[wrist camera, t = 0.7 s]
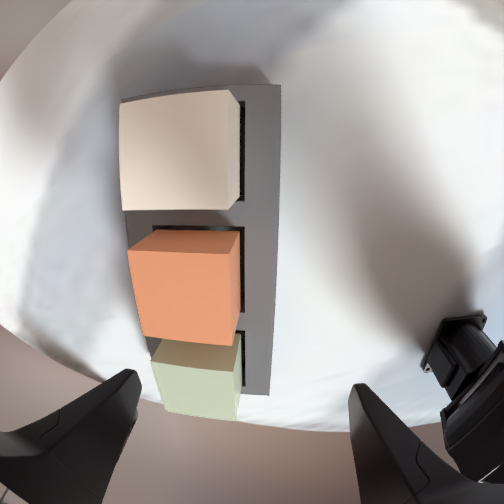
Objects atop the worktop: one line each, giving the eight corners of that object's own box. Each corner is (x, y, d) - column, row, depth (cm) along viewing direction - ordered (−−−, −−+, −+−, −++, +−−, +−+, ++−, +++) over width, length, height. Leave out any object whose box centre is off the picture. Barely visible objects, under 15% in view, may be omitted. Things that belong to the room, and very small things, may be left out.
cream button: (240, 105, 14) (228, 89, 10) (239, 196, 16) (228, 209, 12) (152, 112, 14) (119, 103, 11) (154, 197, 16) (122, 210, 13)
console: (280, 93, 16) (280, 84, 13) (270, 375, 24) (269, 395, 21) (139, 104, 17) (122, 99, 14) (166, 365, 24) (158, 382, 22)
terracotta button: (239, 231, 17) (228, 254, 13) (240, 309, 18) (232, 345, 15) (156, 229, 17) (127, 250, 13) (165, 303, 19) (143, 335, 15)
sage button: (240, 333, 19) (233, 372, 15) (241, 384, 21) (235, 421, 17) (169, 327, 20) (150, 361, 16) (179, 376, 21) (165, 411, 18)
